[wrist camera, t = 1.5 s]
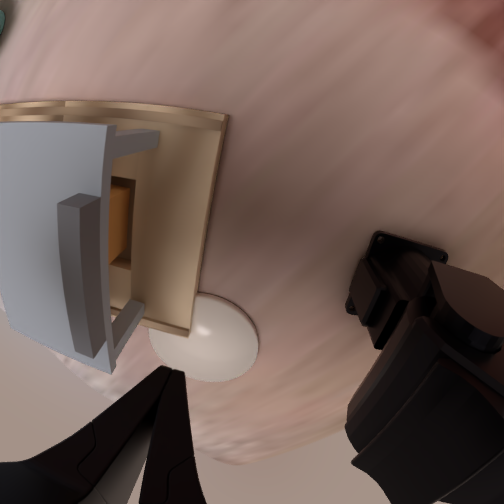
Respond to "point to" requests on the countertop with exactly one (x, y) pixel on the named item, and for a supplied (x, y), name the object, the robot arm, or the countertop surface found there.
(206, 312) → the dish
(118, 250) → the block
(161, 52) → the countertop surface
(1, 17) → the cupcake
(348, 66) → the countertop surface
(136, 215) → the board
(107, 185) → the grey toy table
